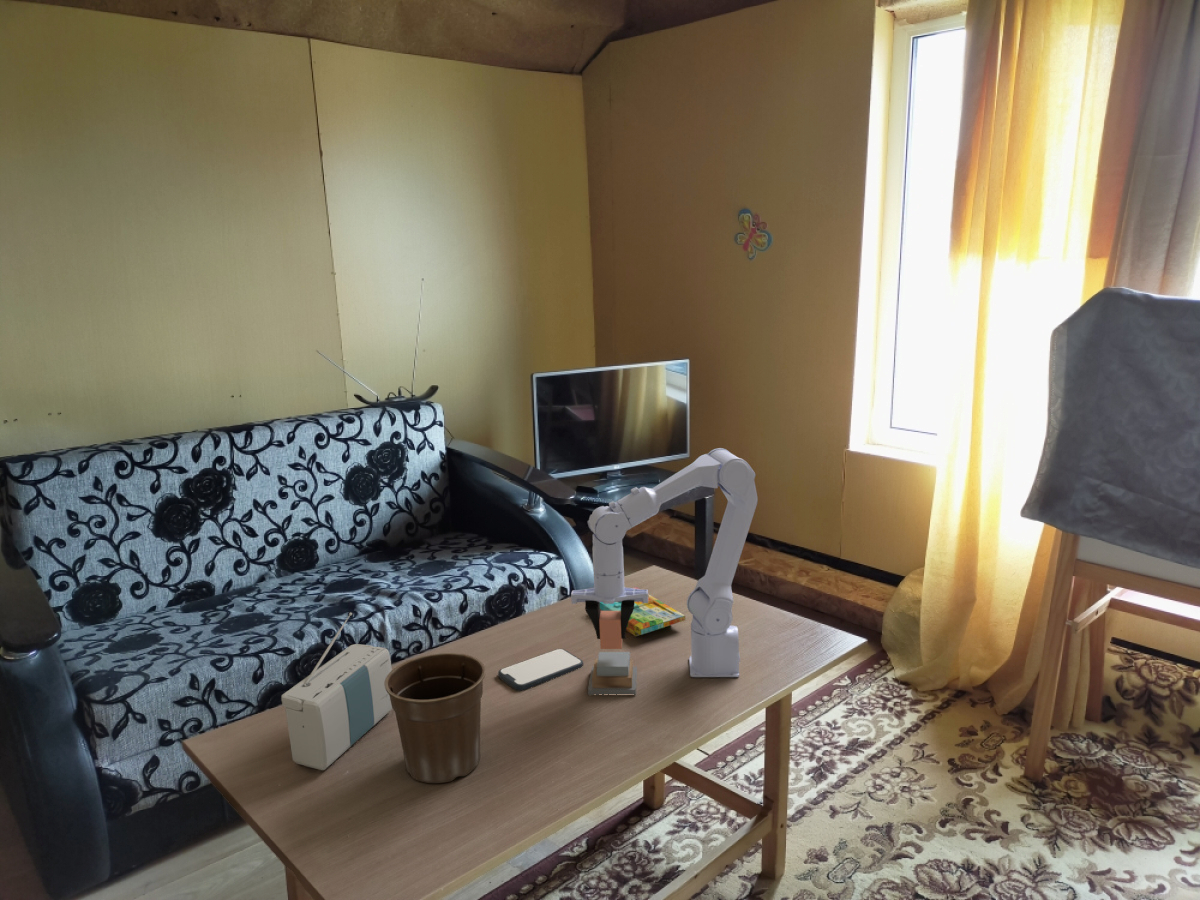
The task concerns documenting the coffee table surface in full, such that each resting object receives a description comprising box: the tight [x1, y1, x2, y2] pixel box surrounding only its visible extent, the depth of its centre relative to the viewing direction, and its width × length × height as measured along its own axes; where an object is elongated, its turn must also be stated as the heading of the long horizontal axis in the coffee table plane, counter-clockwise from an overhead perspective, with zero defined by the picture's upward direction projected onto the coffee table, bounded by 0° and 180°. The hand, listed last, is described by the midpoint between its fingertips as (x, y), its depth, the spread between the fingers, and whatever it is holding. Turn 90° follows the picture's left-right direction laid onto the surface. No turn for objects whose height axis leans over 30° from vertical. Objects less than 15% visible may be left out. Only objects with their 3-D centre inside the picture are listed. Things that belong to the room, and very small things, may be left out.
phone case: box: [497, 648, 584, 692], centre depth 170 cm, size 9×2×16 cm
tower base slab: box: [587, 666, 638, 696], centre depth 164 cm, size 9×9×2 cm
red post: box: [599, 611, 624, 650], centre depth 161 cm, size 4×4×6 cm
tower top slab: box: [597, 651, 631, 676], centre depth 163 cm, size 6×6×2 cm
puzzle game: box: [600, 586, 686, 637], centre depth 190 cm, size 12×5×20 cm
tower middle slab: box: [592, 658, 634, 688], centre depth 164 cm, size 8×8×2 cm
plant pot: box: [384, 652, 486, 784], centre depth 139 cm, size 16×16×16 cm
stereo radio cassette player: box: [281, 612, 393, 771], centre depth 147 cm, size 21×8×20 cm, turn 160°
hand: (611, 636), depth 162 cm, fingers closed on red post, 4 cm apart
